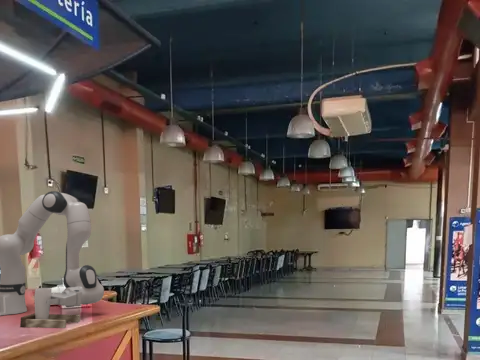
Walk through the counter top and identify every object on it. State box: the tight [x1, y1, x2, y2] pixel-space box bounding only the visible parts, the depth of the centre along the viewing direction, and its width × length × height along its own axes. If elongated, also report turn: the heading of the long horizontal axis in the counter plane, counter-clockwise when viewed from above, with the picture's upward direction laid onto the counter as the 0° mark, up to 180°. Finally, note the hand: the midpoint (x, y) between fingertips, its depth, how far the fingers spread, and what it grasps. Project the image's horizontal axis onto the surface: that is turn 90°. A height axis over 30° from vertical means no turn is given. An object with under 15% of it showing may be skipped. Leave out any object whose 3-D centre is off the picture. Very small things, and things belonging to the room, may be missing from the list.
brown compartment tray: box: [19, 312, 81, 329], centre depth 197 cm, size 20×13×4 cm, turn 81°
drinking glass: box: [34, 287, 52, 320], centre depth 198 cm, size 7×7×15 cm
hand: (41, 301), depth 197 cm, fingers open, 8 cm apart
